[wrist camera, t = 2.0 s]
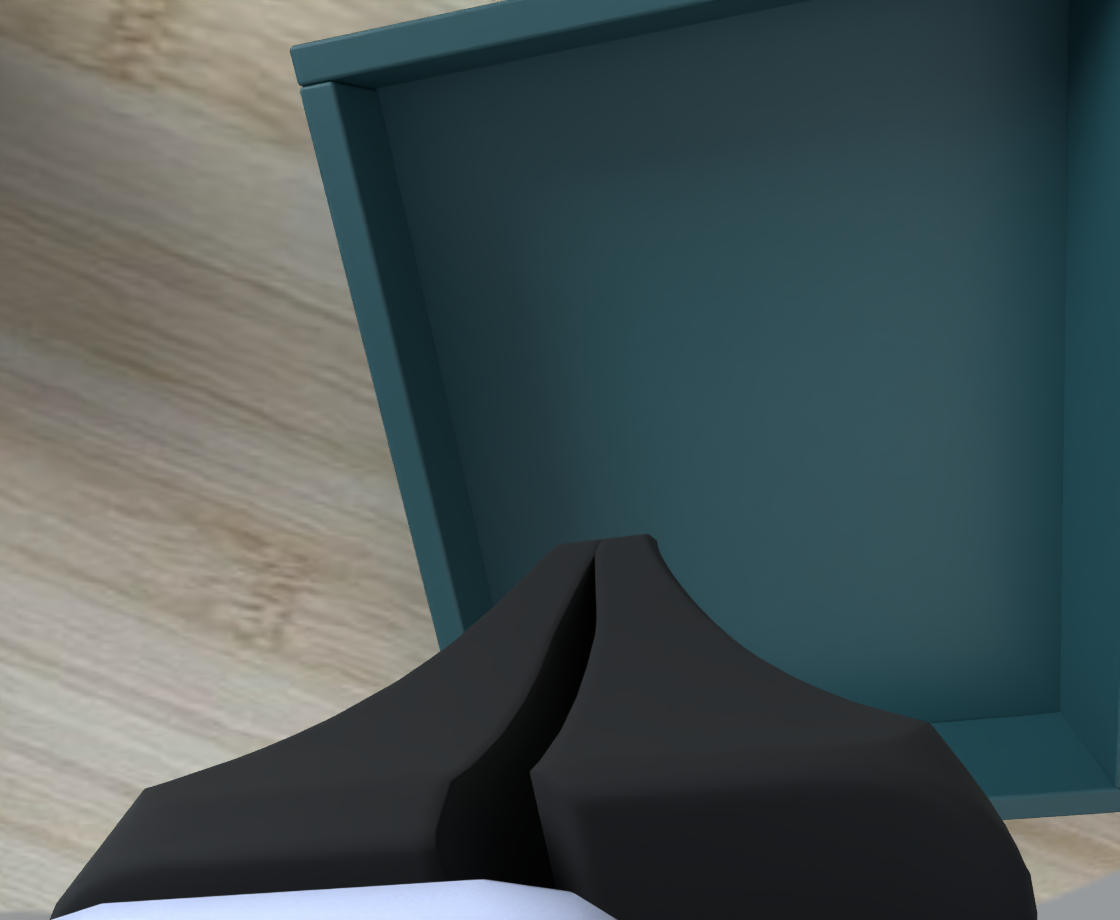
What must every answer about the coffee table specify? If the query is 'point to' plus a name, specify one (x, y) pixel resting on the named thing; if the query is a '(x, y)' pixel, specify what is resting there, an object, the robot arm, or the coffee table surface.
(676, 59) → the tray
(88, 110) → the coffee table surface
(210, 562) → the coffee table surface
